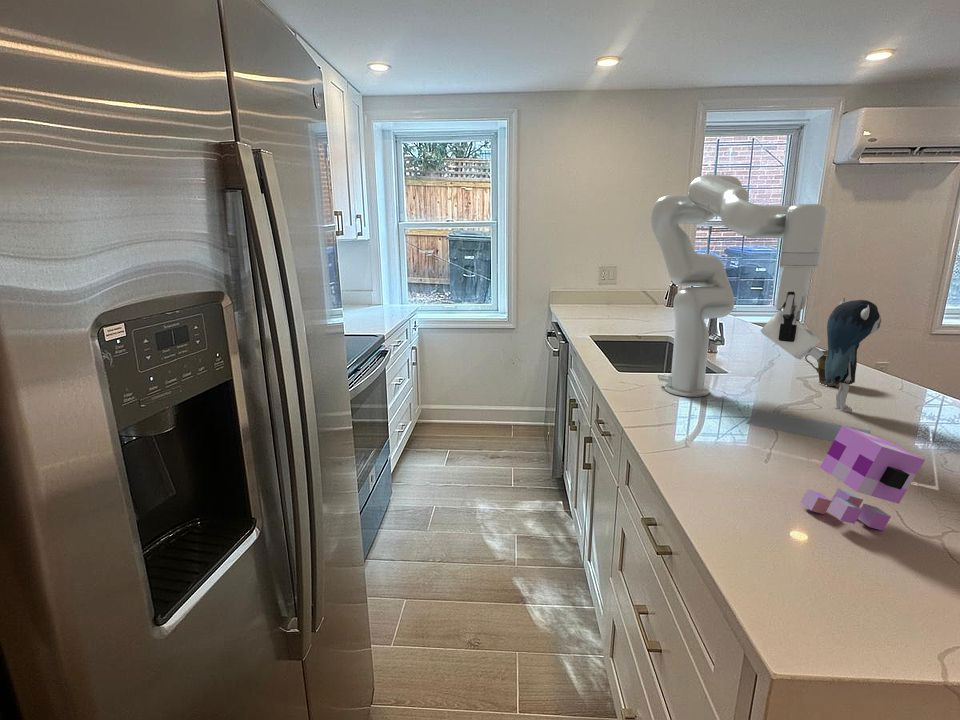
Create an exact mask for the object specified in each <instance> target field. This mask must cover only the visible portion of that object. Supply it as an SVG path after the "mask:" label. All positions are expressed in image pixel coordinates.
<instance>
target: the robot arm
mask: <svg viewBox="0 0 960 720" xmlns="http://www.w3.org/2000/svg"><path fill="white" fill-rule="evenodd" d="M749 200H750V196H749V192H748V190H747V189H746V188H745V187H743V185H742V182H741V181H740V179H738V178H737V177H735V176H733V175H729V174H727V175H726V174H725V175H724V174H721V175H720V174H704V175H700V176H698V177H696V178H694V179H693V180H692V181H691V183H690V184H689V186H688V189H687V194H682V193H681V194H680V193H679V194H668V195H665V196H662V197H660V198H659V199H657V200H656V201H655V203H654V204H653V207H652V210H651V216H650V224H651V227H652V232H653V235H654V236H655V238H656V240H657V242H658V245H659V247H660V249H661V252H662V256H663V259H664V262H665V264H666V269H667V271H668V272H667V273H668V275H669V278H670V281H671V282H672V284H674V285H675V286H680V287H685V288H683V289H681V290H679V291H678V292H677V293H676V294H675V296H674V298H673V303H672V304H673V305H672V307H673V314H674V336H673V337H674V338H673V350H672V360H671V373H669V374H666V373H661V372H659V373H658V374H657V380H658V381H660V382H665V384H664V391H666V392H668V393H670V394H673V395H676V396H682V397H691V398H698V397H699V398H700V397H705V396H707V395H709V394H710V389H709V387H708V386H706V385H705V381H706V370H707V363H708V362H707V360H708V352H709V342H710V332H709V329H708V326H707V324H706V322H705V320H708V319H709V320H710V319H721V318H724V317H727V316H729V315H730V314H731V313H732V312H733V310H734V307H735V295H734V291H733V289H732V286H731V283H730V281H729V278H728V274H727V272H726V267H725V266H724V263H723V262H722V260H721V259H720V258H719V257H718V256H716V255H714V254H712V253H698V252H696V251H695V249H694V246H693V245H692V241H691V239H690V236H689V235H688V234H687V233H686V231H684V230H683V228H681V227H680V225H700V224H704V223H706V222H709V221H711V220H713V219H714V218H716V217H717V216H718V217H720V220H721V222H722V224H723V225H724V226H725V228H727V229H728V230H731V231H732V232H734V233H735V234H738V235H740V236H743V237H746V238H748V239H749V238H750V239H782V243H781V252H780V259H779V268H782V272H781V277H780V282H779V286H778V287H779V288H778V291H777V292H778V294H777V299H776V305H775V309H776V311H782V312H783V315H782V321H781V324H780V331H779V341H787V342H794V341H795V334H796V327H797V325H795V324H796V321H797V322H799V323H800V324H801V322H800V320H801V313H802V310H803V309H805V308H806V305H807V301H808V296H809V295H808V294H809V290H810V284H811V275H812V270H813V269H817V268H819V262H820V254H821V248H822V242H823V235H824V230H825V228H824V227H825V223H826V222H825V221H826V215H827V208H826V206H825V205H823V204H819V203H804V204H803V203H802V204H794V205H777V204H756V203H752V202H750V201H749Z"/></svg>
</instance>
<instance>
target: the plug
mask: <svg viewBox="0 0 960 720" xmlns="http://www.w3.org/2000/svg"><path fill="white" fill-rule="evenodd" d="M782 315H783V310H777V312H776V313H775V314H774V315H773V316H772V317H771V318H770V319H769V320H768V322H766V324H765V325H764V326H763V327H762V328H761V329H760V332H761V334H762V335H764V336H765V337H766V338H768V339H769V340H770V341H772V342H773V343H775V344H776V345H777V346H778V347H780V348H781V349H782V350H784V351H785V352H787V353H788V354H789V355H791V356H792V357H793V358H796V359H797V360H799V361H801V360H803V358H805V356H806V355H807V354H809V355H808V356H811V357H812V358H813V359H815V360H816V361H817V360H818V359H819V358H820V357H821V356H822V355H823V354H824V353H823V352H822V351H823V350H820V349H819V348H817V347H816V346H817V345H818V344H819V343H820V342H821V341H822V339H821V337H820V336H819V335H817V334H816V333H815V332H814V331H812V330H810V329H809V328H808V327H806V326H805V325H803V324H802V323H801V322H800V321H799V322H800V323H799V322H797V321H796V324H795V325H797V327H796V334H795V341H794V342H787V341H779V331H780V324H781V321H782Z"/></svg>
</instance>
